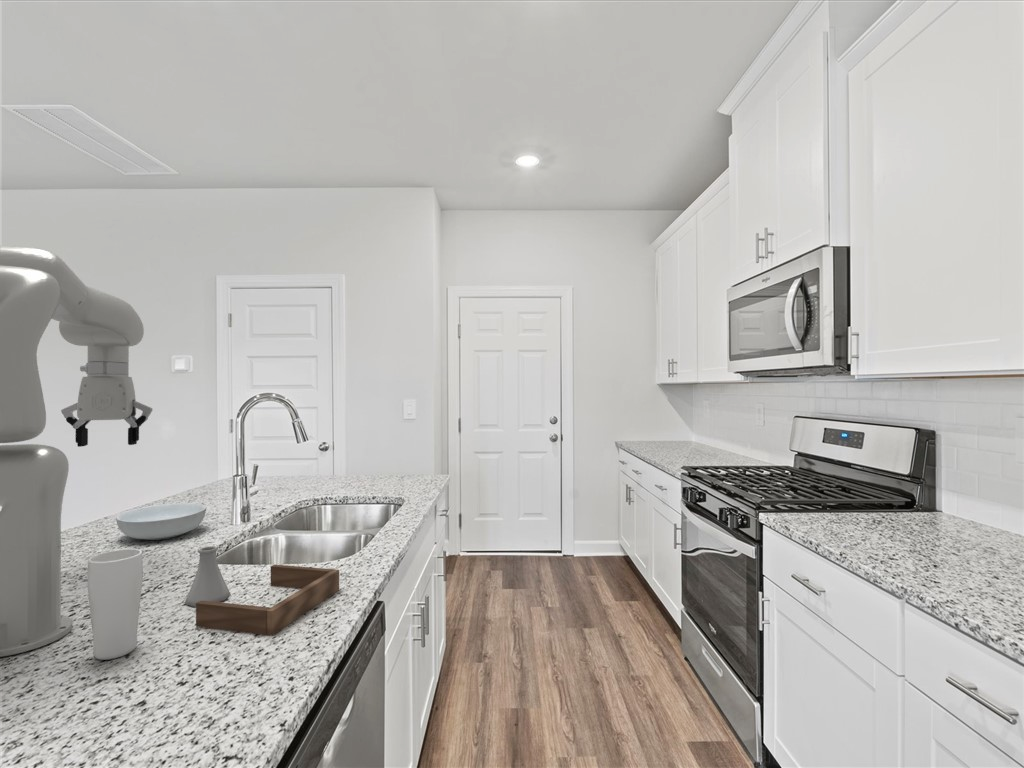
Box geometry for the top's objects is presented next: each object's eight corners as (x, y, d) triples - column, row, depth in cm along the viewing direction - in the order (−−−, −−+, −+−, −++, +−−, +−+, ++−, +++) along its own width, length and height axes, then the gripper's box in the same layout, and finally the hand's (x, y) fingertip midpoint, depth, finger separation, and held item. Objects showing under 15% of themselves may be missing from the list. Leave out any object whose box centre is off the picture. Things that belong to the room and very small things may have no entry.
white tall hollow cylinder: (135, 637, 85) (135, 545, 85) (148, 650, 80) (148, 554, 81) (82, 654, 79) (82, 556, 80) (93, 669, 75) (94, 565, 75)
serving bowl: (95, 544, 137) (95, 517, 137) (165, 524, 157) (166, 501, 157) (159, 549, 132) (159, 522, 132) (223, 528, 152) (223, 504, 153)
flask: (209, 609, 96) (209, 555, 96) (176, 606, 97) (176, 553, 97) (237, 594, 103) (237, 543, 103) (206, 591, 104) (206, 541, 104)
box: (272, 635, 85) (272, 611, 85) (195, 626, 89) (195, 603, 89) (339, 589, 105) (339, 569, 105) (274, 583, 108) (274, 564, 108)
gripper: (53, 369, 113) (53, 448, 113) (145, 370, 119) (145, 445, 118) (71, 371, 121) (70, 445, 120) (157, 371, 126) (157, 442, 125)
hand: (107, 445), depth 119 cm, fingers open, 9 cm apart
